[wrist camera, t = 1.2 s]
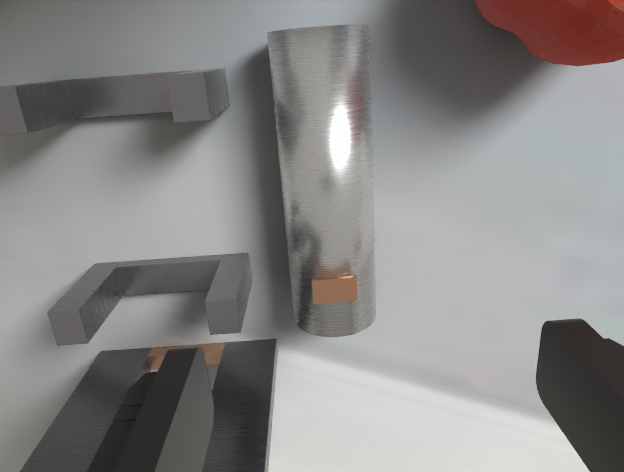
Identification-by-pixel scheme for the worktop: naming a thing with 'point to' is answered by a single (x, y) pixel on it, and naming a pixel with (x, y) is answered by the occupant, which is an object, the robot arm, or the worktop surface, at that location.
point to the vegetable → (562, 28)
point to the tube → (326, 173)
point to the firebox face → (136, 362)
